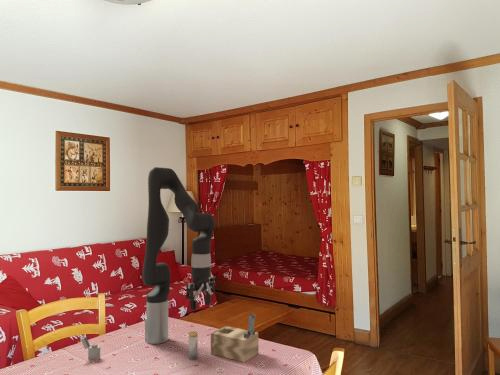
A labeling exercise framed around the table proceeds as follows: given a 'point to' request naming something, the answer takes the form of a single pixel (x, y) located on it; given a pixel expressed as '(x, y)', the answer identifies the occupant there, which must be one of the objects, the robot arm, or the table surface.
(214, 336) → the block
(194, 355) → the pin
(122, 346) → the table surface
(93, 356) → the lighter
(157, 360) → the table surface
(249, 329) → the grey handle
